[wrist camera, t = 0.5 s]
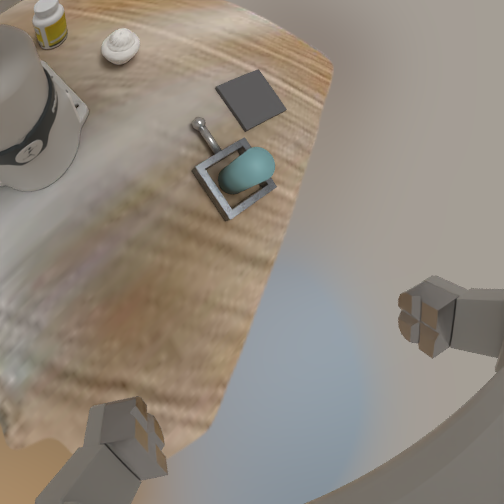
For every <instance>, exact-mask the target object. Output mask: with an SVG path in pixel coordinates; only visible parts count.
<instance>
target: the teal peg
mask: <svg viewBox="0 0 504 504" xmlns="http://www.w3.org/2000/svg"><path fill="white" fill-rule="evenodd" d="M274 170H275V163H274V159H273V157H272V156H271V154H270V153H269V152H268V151H267V150H265V149H263V148H260V147H253V148H250V149H248V150H247V151H246V152H244V153H243V154H242V155H240V156H239V157H238V158H237V159H235V160H234V161H233V162H231V163H230V164H229V165H228V166H226V167H225V168H224V169H223V170H221V172H220V173H219V176H218V183H219V186H220V187H221V189H222V190H223V191H224V192H226V193H228V194H237V193H240V192H242V191H244V190H246V189H248V188H250V187H252V186H255V185H257V184H259V183H261V182H263V181H266V180H268V179H269V178H270V177H271V176H272V175H273V173H274Z"/></svg>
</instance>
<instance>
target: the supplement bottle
mask: <svg viewBox="0 0 504 504" xmlns="http://www.w3.org/2000/svg"><path fill="white" fill-rule="evenodd" d="M34 12H35V15H34V17H33V26H34V29H35V32H36V35H37V39H38V42H39V45H40V46H41V47H42V48H43V49H52V48H55V47H57V46H59V45H60V44H61V43H62V42H63V41H64V40H65V39H66V37H67V26H66V19H65V13H64V8H63V6H62V5H61V4H59V2H58V0H39V1H38V2H37V3H36V4H35V6H34Z"/></svg>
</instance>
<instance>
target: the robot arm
mask: <svg viewBox="0 0 504 504" xmlns="http://www.w3.org/2000/svg"><path fill="white" fill-rule="evenodd" d="M21 1H22V0H0V14H1V13H3V12H4V11H6V10H8V9H9V8H11V7H12V6H14V5H16V4H17V3H19V2H21ZM75 106H79V107H78V108H76V107H75ZM88 113H89V109H88V107H87V105H86V104H85V103H84V102H83V101H82V100H81V99H80V98H79V97H78V96H77V95H76V94H75V93H74V92H73V91H72V90H71V89H70V88H69V87H68V86H67V84H66V83H65V82H64V81H63V80H62V79H61V78H60V77H59V76H58V75H57V74H56V73H55V72H54V71H53V70H52V69H51V68H50V67H49V66H48V65H47V63H46V62H44V61H40V58H39V55H38V53H37V50H36V47H35V44H34V42H33V40H32V38H31V37H30V36H29V35H28V34H27V33H26V32H25V31H23V30H21V29H19V28H16V27H14V26H10V25H5V24H0V186H9V187H12V188H14V189H16V190H20V191H27V192H29V191H36V190H40V189H43V188H45V187H47V186H49V185H50V184H52V183H54V182H55V181H56V180H57V179H59V178H60V177H61V176H62V175H63V174H64V172H65V171H66V170H67V169H68V167H69V166H70V164H71V163H72V161H73V159H74V157H75V155H76V152H77V149H78V145H79V139H80V131H81V127H82V125H83V124H84V122H85V120H86V118H87V116H88ZM398 306H399V307H400V309H401V310H402V311H401V313H400V315H399V318H398V320H399V321H398V323H399V329H400V331H401V334H402V335H403V336H404V337H405V339H406V340H408V341H409V342H412V343H418V346H419V349H420V350H421V351H423V352H424V353H426V354H427V355H428V356H430V357H431V358H434V357H436V356H437V355H439V354H440V353H441V352H443V351H444V350H446V349H447V348H449V347H451V348H454V349H459V350H464V351H468V352H472V353H477V354H482V355H486V356H491V357H496V358H498V360H497V363H496V366H495V372H497V373H496V374H495V375H494V376H493V377H492V378H491V379H490V380H489V381H488V382H487V383H486V384H485V385H484V386H483V387H482V388H481V389H480V390H479V391H478V392H477V393H476V394H475V395H474V396H473V397H472V398H471V399H470V400H468V401H467V402H466V403H465V404H464V405H463V406H462V407H461V408H459V409H458V410H457V411H456V412H455V413H454V414H452V415H451V416H450V417H449V418H448V419H446V420H445V421H444V422H443V423H441V424H440V425H439V426H438V427H436V428H435V429H434V430H432V431H431V432H430V433H428V434H427V435H426V436H424V437H423V438H422V439H420V440H419V441H417V442H416V443H415V444H413V445H412V446H410V447H409V448H407V449H406V450H404V451H403V452H401V453H400V454H398V455H397V456H395V457H394V458H392V459H390V460H389V461H387V462H386V463H384V464H382V465H381V466H379V467H377V468H376V469H374V470H372V471H370V472H369V473H367V474H365V475H363V476H361V477H360V478H358V479H356V480H354V481H352V482H350V483H348V484H346V485H344V486H342V487H340V488H338V489H336V490H334V491H332V492H330V493H328V494H326V495H323V496H321V497H319V498H317V499H314V500H312V501H310V502H307V503H305V504H504V289H474V288H471V289H469V290H467V289H465V288H463V287H460V286H458V285H456V284H454V283H452V282H450V281H447V280H445V279H443V278H441V277H438V276H431V277H429V278H427V279H426V280H424V281H423V282H422V283H420V284H418V285H416V286H414V287H413V288H411V289H409V290H407V291H405V292H403V293H402V294H400V296H399V299H398ZM164 445H165V444H164V436H163V433H162V430H161V427H160V425H159V423H158V421H157V420H156V418H155V417H154V416H153V415H151V414H149V413H147V405H146V404H145V402H144V401H143V399H142V398H141V397H139V396H136V397H132V398H127V399H123V400H118V401H113V402H108V403H104V404H99V405H95V406H92V407H91V408H90V411H89V416H88V422H87V427H86V433H85V439H84V445H83V447H81V448H78V449H77V451H76V452H75V453H74V454H73V455H72V456H71V458H70V459H69V460H68V461H67V462H66V464H65V465H64V466H63V467H62V469H61V470H60V471H59V472H58V473H57V474H56V475H55V477H54V478H53V479H52V480H51V481H50V483H49V484H48V485H47V486H46V487H45V489H44V490H43V491H42V492H41V493H40V494H39V496H38V497H37V498H36V500H35V504H131V502H132V500H133V498H134V496H135V494H136V492H137V490H138V488H139V486H140V484H141V480H146V479H151V478H156V477H161V476H165V475H168V471H167V462H166V456H165V455H164V454H163V453H162V451H161V450H162V448H163V447H164Z"/></svg>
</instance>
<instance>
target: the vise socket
mask: <svg viewBox="0 0 504 504" xmlns="http://www.w3.org/2000/svg"><path fill="white" fill-rule="evenodd" d="M205 124H206V122H205V120H204V119H203V118H202V117H196V118H195V119H194V120H193V122H192V126H193V128H194V129H196V130H199V132H200V133H201V135H202V136H203V138H204V139H205V141H206V142H207V144H208V145H209V147H210V148H211V150H212V151H213V153H214V154H215V155H213V156H212V157H210V158H208V159H207V160H205V161H203V162H202V163H200V164H199V165H197V166H195V167H194V169H193V170H192V172H193V174H194V175H195V177H196V178H197V180H198V181H199V183H200V184H201V186H202V187H203V189H204V190H205V192H206V193H207V195H208V196H209V198H210V199H211V201H212V202H213V204H214V205H215V207H216V208H217V209H218V211H219V212H220V214H221V215H222V217H223V218H224V220H225V221H227V220H231V219H232V218H234V217H235V216H236V215H238V214H239V213H241V212H242V211H243V210H245V209H246V208H248V207H249V206H250V205H252V204H253V203H255V202H256V201H257V200H259V199H260V198H262V197H263V196H265V195H266V194H267V193H269V192H270V191H272V190H273V189H275V188H276V187H277V186H276V185H275V183H274V182H273V180H272V179H271V177H270V178H269V179H268V180H266V181H263V182H261V183H259V184H260V186H261V187H262V188H260V189H259V190H257V191H256V192H254V193H253V194H251V195H250V196H249V197H247V198H246V199H244V200H243V201H241V202H240V203H239V204H237V205H236V206H234V207H233V208H231V207H230V206H229V204H228V203H227V201H226V200H225V198H224V197H223V195H222V194H221V192H220V191H219V189H218V188H217V186H216V185H215V183H214V182H213V180H212V179H211V177H210V176H209V174H208V173H207V171H206V169H208V168H209V167H211V166H213V165H214V164H216V163H217V162H219V161H221V160H222V159H224V158H226V157H227V156H229V155H231V154H232V153H234V152H236V151H238V152H239V154H240V155H242V154H243V153H244V152H246V151H247V150H248V149H250V148H251V146H250V145H249V143H248V142H247V140H246V139H245V137H244V138H243V139H241V140H239V141H237V142H236V143H234V144H232V145H230V146H229V147H227V148H225V149H223V150H221V148H220V147H219V145H218V144H217V142H216V141H215V139H214V138H213V136H212V135H211V133H210V132H209V130H208V129H207V128H206V126H205Z"/></svg>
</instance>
